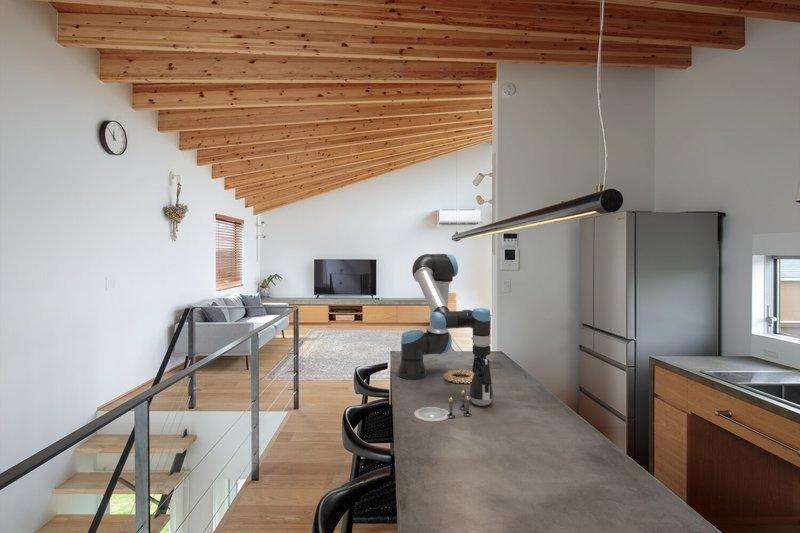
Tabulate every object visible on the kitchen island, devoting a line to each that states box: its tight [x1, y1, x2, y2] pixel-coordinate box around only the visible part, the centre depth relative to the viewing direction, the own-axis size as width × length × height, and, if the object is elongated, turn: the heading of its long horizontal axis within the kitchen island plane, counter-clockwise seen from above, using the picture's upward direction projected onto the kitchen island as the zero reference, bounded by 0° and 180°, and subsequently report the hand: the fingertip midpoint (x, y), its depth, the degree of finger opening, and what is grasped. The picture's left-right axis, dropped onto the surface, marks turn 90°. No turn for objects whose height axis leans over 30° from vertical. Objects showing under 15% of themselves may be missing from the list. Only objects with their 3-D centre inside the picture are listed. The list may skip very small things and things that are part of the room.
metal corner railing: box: [447, 390, 473, 419], centre depth 171 cm, size 11×10×8 cm
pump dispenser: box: [468, 369, 494, 407], centre depth 181 cm, size 10×10×15 cm
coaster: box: [413, 406, 449, 423], centre depth 169 cm, size 14×14×1 cm
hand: (481, 394), depth 181 cm, fingers open, 13 cm apart
